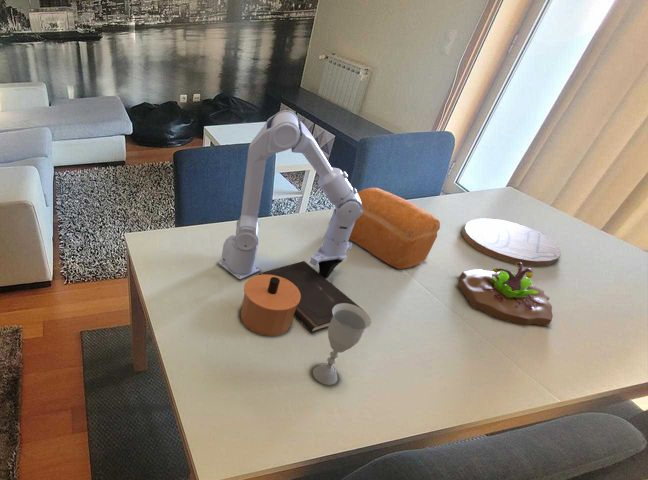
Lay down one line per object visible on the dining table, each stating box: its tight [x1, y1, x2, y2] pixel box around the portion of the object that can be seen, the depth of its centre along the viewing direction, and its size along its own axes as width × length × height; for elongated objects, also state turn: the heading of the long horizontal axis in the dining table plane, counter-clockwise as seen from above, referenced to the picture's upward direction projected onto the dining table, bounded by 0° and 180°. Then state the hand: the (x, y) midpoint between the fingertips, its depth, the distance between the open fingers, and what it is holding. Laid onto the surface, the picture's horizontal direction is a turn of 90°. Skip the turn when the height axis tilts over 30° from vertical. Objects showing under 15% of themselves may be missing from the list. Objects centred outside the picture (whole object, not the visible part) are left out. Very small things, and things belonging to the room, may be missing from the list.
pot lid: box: [243, 275, 301, 311], centre depth 95 cm, size 13×13×5 cm
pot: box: [240, 292, 297, 337], centre depth 99 cm, size 12×12×8 cm
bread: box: [349, 187, 441, 270], centre depth 123 cm, size 14×26×16 cm, turn 24°
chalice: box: [312, 303, 372, 386], centre depth 82 cm, size 7×7×18 cm
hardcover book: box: [258, 260, 364, 334], centre depth 107 cm, size 16×23×2 cm
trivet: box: [461, 218, 562, 267], centre depth 128 cm, size 25×25×2 cm
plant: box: [458, 262, 553, 327], centre depth 103 cm, size 20×20×11 cm
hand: (322, 277), depth 113 cm, fingers closed
